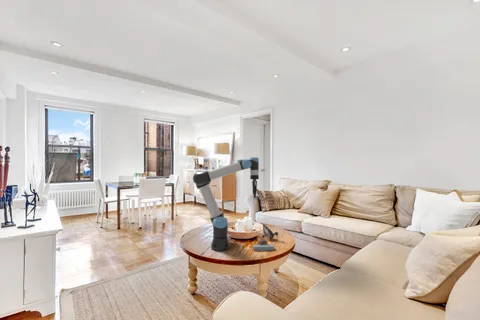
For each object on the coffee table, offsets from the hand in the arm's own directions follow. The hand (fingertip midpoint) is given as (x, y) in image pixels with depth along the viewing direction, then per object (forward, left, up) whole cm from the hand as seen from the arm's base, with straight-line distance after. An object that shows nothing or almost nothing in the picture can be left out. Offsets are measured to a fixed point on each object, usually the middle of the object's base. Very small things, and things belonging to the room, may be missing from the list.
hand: (254, 201), depth 208 cm
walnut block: (+4, -16, -35) cm, 38 cm away
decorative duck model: (+16, -1, -34) cm, 38 cm away
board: (+4, -22, -34) cm, 41 cm away
